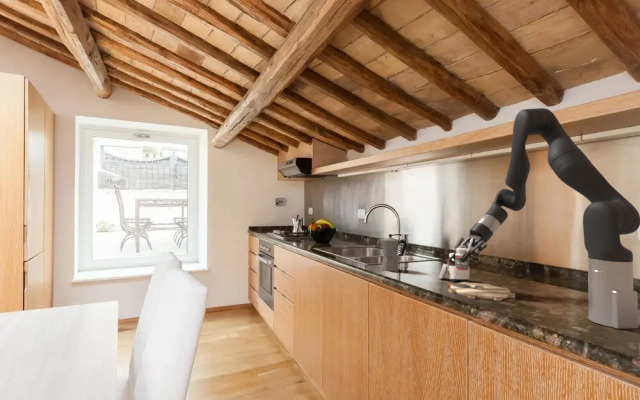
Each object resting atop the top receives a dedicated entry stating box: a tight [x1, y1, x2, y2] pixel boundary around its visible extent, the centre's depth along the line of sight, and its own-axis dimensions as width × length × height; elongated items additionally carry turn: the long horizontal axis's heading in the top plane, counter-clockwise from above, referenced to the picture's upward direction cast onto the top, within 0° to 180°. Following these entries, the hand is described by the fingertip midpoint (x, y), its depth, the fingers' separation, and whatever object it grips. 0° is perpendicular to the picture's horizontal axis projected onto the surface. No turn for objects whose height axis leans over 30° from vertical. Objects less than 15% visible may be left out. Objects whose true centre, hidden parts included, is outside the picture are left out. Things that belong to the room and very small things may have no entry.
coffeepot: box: [378, 233, 408, 272], centre depth 165 cm, size 15×9×18 cm, turn 51°
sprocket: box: [446, 282, 516, 301], centre depth 121 cm, size 23×23×2 cm
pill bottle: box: [455, 248, 470, 271], centre depth 126 cm, size 5×5×8 cm
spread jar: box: [438, 252, 470, 283], centre depth 141 cm, size 12×11×12 cm
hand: (457, 259), depth 125 cm, fingers closed on pill bottle, 4 cm apart
